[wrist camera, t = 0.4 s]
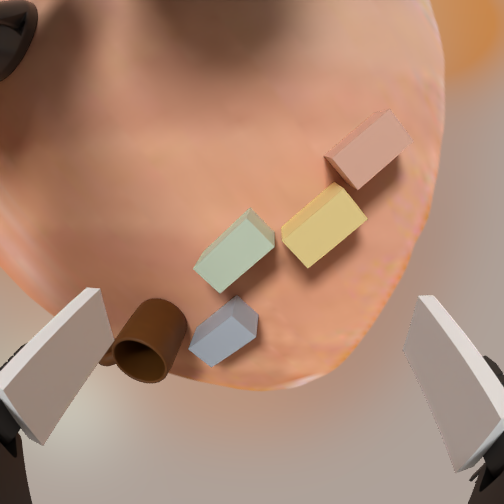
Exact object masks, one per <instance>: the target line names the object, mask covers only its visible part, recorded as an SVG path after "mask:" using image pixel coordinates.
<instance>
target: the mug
mask: <svg viewBox="0 0 504 504" xmlns="http://www.w3.org/2000/svg"><path fill="white" fill-rule="evenodd" d="M185 332H186V320H185V318H184V316H183V314H182V312H181V311H180V310H179V309H178V308H177V307H176V306H175V305H174V304H172V303H171V302H169V301H166V300H163V299H149V300H147V301H145V302H143V303H142V304H141V305H140V306H139V307H138V308H137V310H136V311H135V312H134V314H133V315H132V316H131V318H130V319H129V320H128V322H127V323H126V325H125V326H124V327H123V329H122V330H121V332H120V333H119V335H118V336H117V338H116V339H114V340H115V341H114V342H113V343H112V345H111V346H110V347H109V349H108V350H107V352H106V353H105V354H104V356H103V357H102V359H101V360H100V361H99V364H100V365H103V366H111V365H114V364H117V366H118V367H119V368H120V369H121V370H122V371H123V372H124V373H125V374H127V375H128V376H129V377H131V378H133V379H135V380H137V381H140V382H144V383H157V382H160V381H161V380H163V379H164V378H165V377H166V376H167V374H168V372H169V370H170V368H171V367H172V364H173V362H174V360H175V357H176V355H177V352H178V350H179V348H180V345H181V342H182V340H183V338H184V335H185Z"/></svg>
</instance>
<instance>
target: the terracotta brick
mask: <svg viewBox="0 0 504 504" xmlns="http://www.w3.org/2000/svg"><path fill="white" fill-rule="evenodd" d="M412 142H414V141H413V139H412V138H411V136H410V135H409V134H408V132H407V131H406V129H405V128H404V127H403V125H402V124H401V123H400V121H399V120H398V119H397V117H396V116H395V115H394V113H393V112H392V111H391V109H388V110H383V111H379V112H375V113H373V114H372V115H371V116H370V117H368V118H367V119H366V120H365V121H364V122H363V123H361V124H360V125H359V126H358V127H357V128H355V129H354V130H353V131H352V132H351V133H350V134H348V135H347V136H346V137H345V138H344V139H342V140H341V141H340V142H339V143H338V144H337V145H335V146H334V147H333V148H332V149H331V150H330V151H328V152H327V153H326V154H325V155H324V157H325V158H326V159H327V160H328V161H329V163H330V164H331V165H332V166H333V167H334V168H335V170H336V171H337V172H338V173H339V174H340V176H341V177H342V178H343V179H344V180H345V182H346V183H347V184H349V185H351V186H352V187H354V188H355V189H357V190H359V189H360V188H361V187H362V186H363V185H364V184H366V183H367V182H368V181H369V180H370V179H371V178H373V177H374V176H375V175H376V174H377V173H378V172H379V171H381V170H382V169H383V168H384V167H385V166H386V165H387V164H389V163H390V162H391V161H392V160H393V159H394V158H395V157H397V156H398V155H399V154H400V153H401V152H402V151H403V150H405V149H406V148H407V147H408V146H409V145H410V144H411V143H412Z"/></svg>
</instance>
